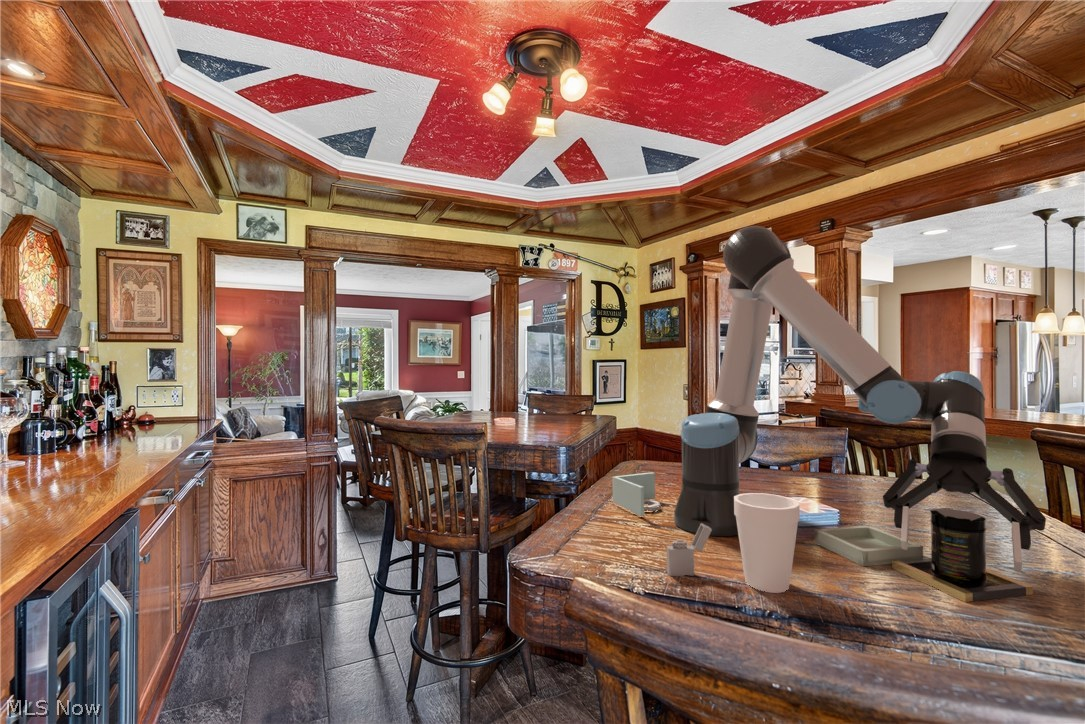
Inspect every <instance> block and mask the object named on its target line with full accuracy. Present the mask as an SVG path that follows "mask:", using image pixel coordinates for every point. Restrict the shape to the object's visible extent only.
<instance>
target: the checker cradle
mask: <svg viewBox="0 0 1085 724" xmlns="http://www.w3.org/2000/svg"><path fill="white" fill-rule="evenodd" d="M891 565H892V567H891V568H892V569H893V570H894V571H897V572H899V573H901V574H903V575H906V576H909V578H912V579H914V580H916V581H919V582H921V583H923V584H925V583H926V584H925V585H927V584H928V585H927V586H929V585H930V587H932V586H933V587H932V588H934V587H935V588H934V589H936V588H937V589H936V590H938V589H939V590H938V591H940V590H941V592H942V591H943V593H945V594H947V595H948V596H949V595H950V596H951V597H954V598H956V599H958V600H960V601H962V602H964V603H969V602H970V601H971V602H977V600H980V601H988V599H989V600H997V598H998V599H1004V598H1015V597H1023V596H1031V595H1034V587H1033V585H1030V584H1027V583H1025V582H1022V581H1019V580H1017V579H1014V578H1011V577H1010V576H1007V575H1004V574H1001V573H999V572H997V571H993V570H990V569H988V568H986V581H990V582H992V583H995V584H997V585H990V586H984V587H979V588H969V589H966V588H960V587H958V586H955V585H953V584H951V583H949V582H946V581H944V580H942V579H939V578H937V577H935V576H934V575H933V574H930V573H927V572H925V571H923V570H929V569H931V570H932V567H931V557H927V558H926V557H923V559H913V560H902V561H892V564H891Z"/></svg>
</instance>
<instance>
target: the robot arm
mask: <svg viewBox="0 0 1085 724" xmlns="http://www.w3.org/2000/svg"><path fill="white" fill-rule="evenodd" d="M722 255H723V256H722V257H723V264H724V266H725V268H726V269H727V271H728V272H729V274H730V276H729V281H728V287H727V292H728V293H729V295H730V296H731V297H732V304H731V309H730V315H729V321H728V328H727V331H726V332H727V333H726V336H725V337H726V338H725V343H724V348H723V353H722V359H721V364H720V369H719V375H718V381H717V386H716V392H715V398H714V399H713V400H711V401H710V402H708V403H707V405H706V410H705V412H701V413H699V414H697V413H695V414H691V415H689V416H688V415H687V416H686V417H685V418H684V419H683V420H682V423H681V431H680V438H681V476H682V477H681V481H682V482H681V484H682V485H681V490H680V493H679V496H678V499H677V502H676V505H675V508H674V513H673V517H674V521H673V522H674V524H675V525H676V526H677V527H678V528H680V529H682V530H685V531H687V532H690V533H694V534H696V533H697V531H698V528H699V526H700V524H701V523H702V524H704V525H706V526H709V527H710V528H711V529H712V531H711V533H710V535H709V536H713V537H730V536H731V537H732V536H739V535H738V528H737V521H736V515H734V496H736V495H739V494H741V492H740V464H741V463H743V462H745V461H747V460H748V459H749V458H750V457H752V455H753V454H754V452H755V451H756V449H757V446H758V442H759V441H758V440H759V434H758V430H757V428H758V424H759V423H758V420H759V417H760V413H759V411H758V410H757V409H756V408H755V406H754V405H755V400H756V395H757V389H758V384H759V378H760V373H761V368H762V364H763V363H762V362H763V359H764V352H765V347H766V341H767V336H768V331H769V326H770V320H771V314H772V310H773V308H774V309H775V310H776V311H777V312H778V313H779V314H780V315H781V316H782V318H784V320H785V321H786V322H788V325H790V326H791V327H792V328H793V329H794V330H795V331H796V333H797V334H799V336H800V337H801V338H802V339H804V341H805V342H806V343H807V344H808V345H809V347H811V348H812V349H813V350H814V351H815V353H816V354H817V355H819V357H820V358H821V359H822V360H823V361H824V362H825V363H826V364H827V365H828V367H830V368H831V370H833V371H834V372H835V374H836V375H837V376H838V377H839V378H840V379H841V380H842V381H843V382H844V383H845V385H847V386H848V387H849V389H851V391H853V392H854V394H855V395H856V396H857V398H858V402H857V408H858V410H859V411H860V412H862V413H867V414H871V415H872V416H873V417H874V418H875V419H877V421H880V422H882V423H884V424H891V425H899V424H903V423H907V422H909V421H911V420H913V419H914V420H915V419H916V420H920V421H921V420H922V421H931V424H930V425H931V426H930V427H931V429H930V430H931V431H930V442H931V443H930V458H929V462H928V463H927V464H925V463H918V462H917V460H916V459H914V458H910V459H908V461H907V464H906V469H905V470H904V471H903V472H902V473H901V474H900V475H899V477H897V479H896V480H895V481H894V483H893V484H892V485H891V486H890V487H889V488H888V490H886V492H885V493H884V494H883V495H882V501H883V505H884V507H885V508H887V509H892V510H894V514H893V515H894V517H893V523H894V526H895V528H896V529H901V531H900V538H901V546H902V549H905V550H908V541H909V533H910V516H911V514H910V509H911V508H913V507H914V506H916V505H917V504H919V503H920V502H923V500H924V499H926V498H928V497H929V496H930V495H931V496H932V494H936V493H938V492H939V491H941V490H945V492H948V493H960V494H966V495H971V494H972V493H974V494H976V495H977V496H978V497H979V498H980V499H981V500H984V501H985V502H986V503H987V504H989V505H990V506H991V507H992V508H993V509H995V511H997V512H998V513H999V514H1000V515H1002V516H1003V517H1004V518H1005V519H1006V520H1007V521H1008V522H1009V523H1011V540H1012V541H1011V543H1012V554H1013V555H1012V557H1013V570H1014V571H1016V572H1022V567H1023V557H1022V550H1027V551H1030V549H1031V546H1032V539H1031V531H1033V530H1036V531H1040V532H1041V531H1044V530H1045V528H1046V523H1047V518H1046V517H1045V515H1043V513H1042V512H1041V510H1040V509H1039V508H1038V506H1036V504H1035V503H1034V502H1033V500H1032V499H1031V498H1030V497H1029V495H1028V494H1027V493H1026V492H1025V491H1024V490H1023V488H1022V487H1021V486H1020V485H1019V483H1018V482H1017V481H1016V479H1015V475H1014V471H1013V469H1012V468H1008V467H1005V468H1002V470H1001V471H999V470H998V471H997V470H990V469H989V468H988V463H987V459H988V458H987V437H986V435H987V434H986V433H987V432H986V412H985V411H986V410H985V409H986V406H985V403H986V397H985V394H984V393H985V392H984V387H983V383H982V381H981V380H980V378H978V377H977V376H975V375H973V374H971V373H969V372H966V371H959V370H958V371H957V370H953V371H951V372H943V373H941V374H939V375H938V376H936V377H935V378H934V380H933V381H922V380H921V381H919V380H913V379H905V378H904V377H903V376H902V375H901V374H900V373H899V372H898V371H897V370H896V369H894V367H893V366H891V364H890V363H889V362H888V361H887V360H886V359H885V358H884V357H883V356H882V355H881V354H880V353H879V351H877V350H876V349H875V348H874V347H873V346H872V345H871V344H870V343H869V342H868V341H867V340H866V339H865V338H864V337H863V336H862V335H861V334H860V333H859V332H858V331H857V330H856V329H855V328H854V326H852V325H851V324H850V323H849V322H848V321H847V320H846V319H845V318H844V317H843V316H842V314H840V313H839V312H838V311H837V310H836V309H835V307H833V306H832V305H831V304H830V303H829V302H828V301H827V300H826V299H825V298H824V297H823V296H822V295H821V294H820V292H819V291H817V289H815V287H813V286H812V285H811V284H810V283H809V281H807V280H806V279H805V278H804V277H803V276H802V275H801V274H800V273H799V272H798V271H797V270H796V268H794V263H795V261H794V260H795V259H794V258H793V257H792V255H791V253H790V249H789V248H788V245H786V243H785V242H783V241H782V240H781V239H780V238H779V237H778V236H777V235H776V233H774V231H772V230H771V229H769V228H766V227H764V226H760V225H751V226H750V225H749V226H745V227H743V228H740V229H738V230H737V231H736V232H734V233H733V234H732V235H731V236H730V237H729V238H728V240H727V241H726V242H725V245H724V248H723V252H722ZM923 473H927V475H928V476H927V478H926V479H925V480H924V481H922V482H921V483H919V484H918V485H916V486H915V487H913V488H912V489H910V490H909V491H908V492H906V491H907V490H908V489H909V487H911V485H912V484H913V482H914V481H915V480H916V478H917V477H920V476H921V475H922V474H923ZM992 480H994V481H996V483H997V484H998V485H999V486H1001V487H1003V488H1004V490H1005V492H1006V494H1007V495H1008V496H1009V497H1010V498H1011V500H1012V501H1013V502H1014V503H1015V505H1016V507H1015V506H1014V505H1013V504H1012V503H1011V502H1009V501H1008V500H1007V499H1005V498H1004V497H1003V496H1002V495H1001V494H1000V493H998V492H997V491H996V490H995V489H994V488H993V487H992V486H991V484H990V483H989V482H990V481H992ZM905 492H906V493H905ZM904 493H905V494H904ZM1017 507H1018V508H1017Z"/></svg>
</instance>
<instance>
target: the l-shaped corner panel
mask: <svg viewBox="0 0 1085 724" xmlns="http://www.w3.org/2000/svg"><path fill="white" fill-rule="evenodd" d="M611 481H612V487H611V488H612V489H611V490H612V503H613V502H615V503H617V504H618V505H620V506H622V507H624V508H626V509H627V510H630V511H631V512H633V513H635V514H637V515H639V516H644V517H645V512H644V511H647V510H648V511H656V510H661V509H662V505H661V503H660V501H657V500H656V473H655V472H645V473H644V472H643V473H642V472H641V473H634V474H633V473H632V474H625V475H617V476H616V475H615V476H612V480H611ZM650 499H655V500H650ZM644 504H648V505H650V506H645V505H644ZM660 508H661V509H660Z"/></svg>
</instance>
